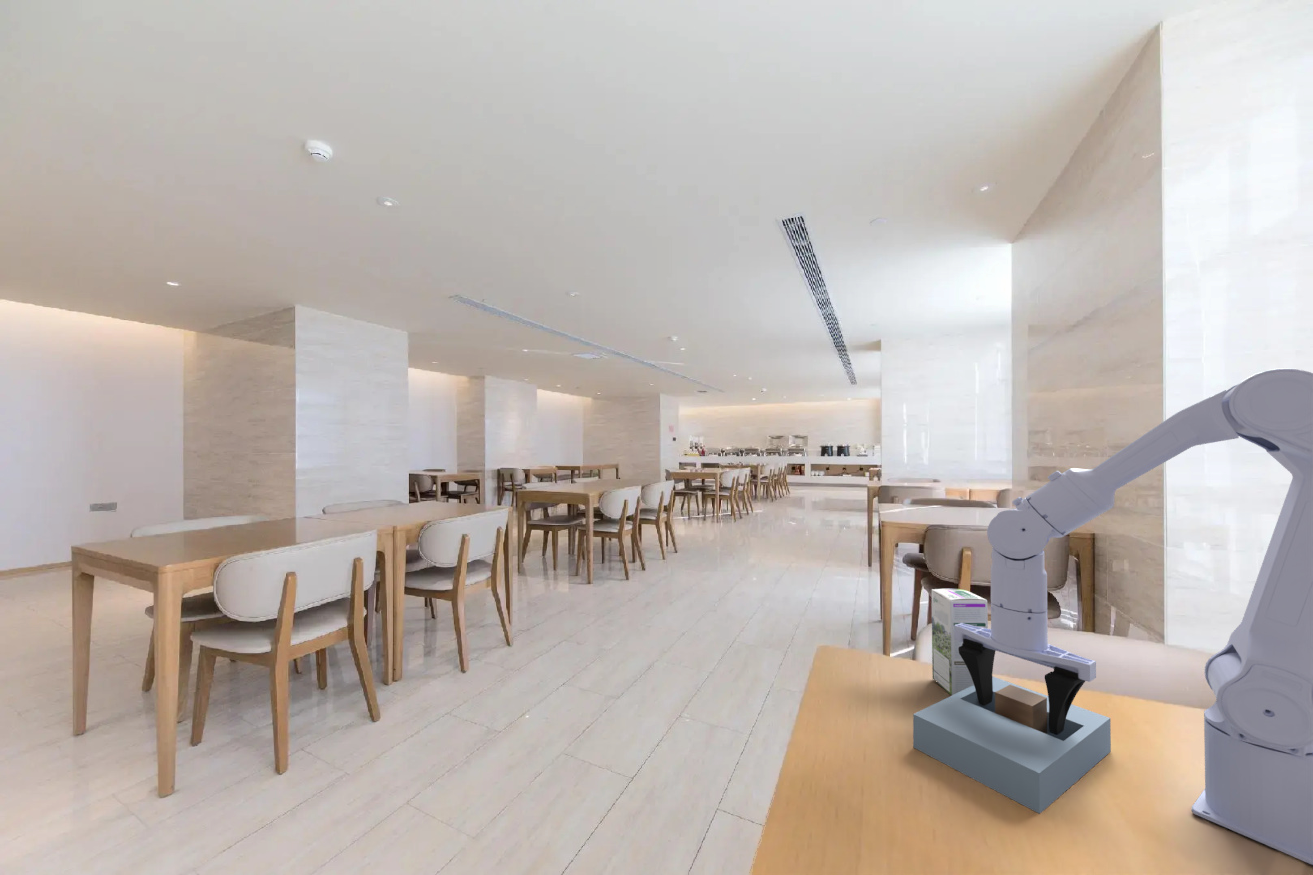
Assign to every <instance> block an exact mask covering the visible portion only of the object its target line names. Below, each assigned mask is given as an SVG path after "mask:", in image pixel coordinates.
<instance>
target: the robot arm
mask: <svg viewBox="0 0 1313 875" xmlns="http://www.w3.org/2000/svg"><path fill="white" fill-rule="evenodd" d="M1239 437H1240V438H1241V439H1243V440H1246V441H1247V442H1250V443H1252V444H1254V445H1256V446H1258V447H1260V448H1262V449H1264V450H1265V451H1266V452H1267V454H1269V455H1270V456H1271V457H1272V458H1273V459H1274V460H1276V461H1277V462H1278V463H1279V464H1280V465H1281V466H1283V468H1284V469H1286V471H1288V472H1289V473H1290V474H1291V476H1292V479H1291V481H1290V484H1289V487H1288V490H1287V493H1286V496H1285V498H1284V502H1283V504H1282V507H1281V508H1280V512H1279V516H1278V519H1277V520H1276V524H1275V527H1274V530H1273V532H1272V536H1271V538H1270V541H1269V543H1268V546H1267V548H1266V549H1267V550H1266V552H1265V554H1264V558H1263V560H1262V563H1261V565H1260V566H1261V567H1260V568H1259V572H1258V574H1257V577H1256V581H1255V583H1254V585H1253V588H1252V592H1251V594H1250V598H1249V600H1248V603H1247V605H1246V609H1245V611H1244V614H1243V617H1242V618H1241V619H1242V620H1241V622H1240V624H1239V625H1238V626H1237V627H1236V628H1235V629H1234V630H1233V632H1231V633H1230V636H1229V640H1228V641H1227V644H1226V645H1225V647H1223V649H1221V650H1220V651H1218V652H1217V653H1214V654H1213V655H1212V656H1210V657H1209V658H1208V660H1207V661H1206V662H1205V666H1204V669H1203V670H1204V678H1205V680H1206V682H1207V684H1208V686H1209V688H1210V689H1211V690H1212V691H1213V693H1214V694H1213V695H1214V696H1215V698H1216V700H1215V702H1214V703H1213V704H1212V705H1211V706H1210V707H1208V708H1206V709H1205V710H1204V711H1203V723H1204V724H1203V725H1204V726H1203V727H1204V729H1203V731H1204V734H1203V735H1204V736H1203V737H1204V742H1203V743H1204V789H1203V790H1202V792H1201V793H1200V794H1199V796H1198V798H1197V799H1196V801H1195V802H1194V803H1193V804H1192V806H1191V812H1192V813H1193V814H1194V815H1196V816H1197V817H1200V818H1202V819H1205V820H1207V821H1210V822H1212V823H1214V824H1217V825H1219V826H1221V827H1223V828H1225V829H1229V830H1230V831H1233V832H1234V833H1237V834H1239V835H1242V836H1245V837H1246V838H1249V839H1251V840H1253V841H1256V842H1258V843H1260V844H1263V845H1265V846H1267V847H1269V848H1272V849H1275V850H1277V851H1279V852H1281V853H1284V854H1286V855H1289V856H1291V857H1293V858H1296V859H1297V860H1300V861H1302V862H1305V863H1306V864H1309V865H1311V866H1313V372H1311V371H1307V370H1303V369H1299V368H1287V367H1286V368H1284V367H1283V368H1274V369H1268V370H1265V371H1260V372H1257V373H1254V374H1253V375H1251V376H1248V377H1247V378H1245V379H1243V380H1242V381H1241V382H1240V383H1237V384H1235V385H1233V386H1231V387H1230V388H1228V389H1224V390H1222V391H1220V392H1218V393H1215V394H1214V395H1211V396H1209V397H1208V398H1205V399H1203V400H1201V401H1199V402H1196V403H1194V404H1192V405H1190V406H1188V407H1186V408H1183V409H1181V410H1179V411H1178V412H1176V413H1174V414H1173V415H1171V416H1170V417H1168V418H1167V419H1165V420H1164V421H1163V422H1160V423H1159V424H1157V425H1156V426H1154V427H1153V428H1152V429H1150V430H1149V431H1147V432H1145V433H1144V434H1143V435H1141V436H1140V437H1139V438H1136V440H1133V442H1130V443H1129V444H1128V445H1127V446H1125V447H1123V448H1122V449H1120V450H1119V451H1117V452H1116V453H1114V454H1113V455H1112V456H1110V457H1109V458H1107V459H1106V460H1104V461H1103V462H1101V463H1100V464H1098V465H1097V466H1096V467H1094V468H1092V469H1091V468H1089V469H1086V468H1077V467H1072V468H1068V469H1066V470H1065V471H1063V472H1060V471H1059V470H1056V471H1054V472H1052V473H1051V474H1049V475H1047V479H1048V480H1049V481H1048V482H1047V483H1045V484H1044V485H1042V486H1040V487H1038V489H1036V490H1034V491H1033V492H1032V493H1030V494H1028V495H1027V496H1025V497H1024V498H1022V497H1021V496H1018V497H1017V498H1015V499H1013V500H1012V501H1011V502H1012V504H1013V505H1014V506H1015V508H1011V509H1007V510H1001V511H999V512H998V513H997V514H996V515H995V516H994V517H993V519H991V520H990V522H989V524H988V526H987V530H986V531H987V532H986V534H987V539H988V542H989V544H990V545H991V546H992V547H991V549H992V551H991V555H990V556H991V566H990V628H988V629H987V628H982V627H977V626H972V625H968V624H964V623H960V624H957V625H954V639H955V640H958V641H961V642H963V643H962V646H960V647H959V648H958V650H959V654H960V656H961V657H962V659H963V661H964V662H965V664H966V666H967V668H968V670H969V673H970V675H971V677H972V680H973V683H974V686H975V690H976V693H977V697H978V702H979V704H981V705H983V706H985V705H987V704H989V703H991V702H992V696H993V683H992V676H993V671H994V661H995V657H996V656H995V655H996V652H999V653H1002V654H1006V655H1009V656H1012V657H1014V658H1018V659H1022V660H1025V661H1028V662H1031V663H1033V664H1034V663H1035V664H1037V665H1040V666H1041V665H1042V666H1044V667H1047V668H1050V669H1053V671H1050V672H1048V673H1046V674H1044V681H1045V685H1046V691H1047V692H1046V693H1047V696H1048V699H1049V731H1050V733H1053V734H1055V735H1058V734H1059V733H1061V732H1062V731H1064V725H1065V720H1066V717H1067V714H1068V711H1069V708H1070V706H1071V704H1072V703H1073V701H1074V699H1075V697H1076V695H1078V693H1079V691H1080V690H1081V688H1082V687H1083V685H1084V684H1085V683H1086V682H1089V683H1090V682H1092V681H1094V680H1095V679H1096V678H1097V661H1096V660H1093V659H1090V658H1086V657H1083V656H1080V655H1077V654H1075V653H1073V652H1070V651H1068V650H1065V649H1063V648H1061V647H1057V646H1055V645H1053V644H1050V643H1048V642H1049V636H1048V629H1049V628H1048V626H1049V625H1048V623H1049V622H1048V621H1049V620H1048V618H1049V617H1048V573H1047V571H1046V569H1045V568H1046V567H1045V563H1046V562H1045V551H1044V549H1045V548H1046V546H1047V545H1048V543H1049V542H1050V539H1051V538H1058V539H1060V538H1064V537H1065V536H1067V535H1069V534H1070V533H1072V532H1074V531H1076V530H1077V529H1079V528H1081V527H1083V526H1084V525H1086V524H1087V523H1089V522H1090V521H1092V520H1094V519H1096V518H1097V517H1099V516H1101V515H1103V514H1105V513H1106V512H1109V511H1110V510H1111V509H1114V507H1115V499H1116V498H1115V496H1116V492H1117V490H1119V489H1120V488H1122V487H1124V486H1125V485H1127V484H1128V483H1131V482H1132V481H1135V480H1136V479H1138V478H1140V477H1141V476H1143V475H1145V474H1147V473H1148V472H1150V471H1151V470H1153V469H1156V468H1157V467H1159V466H1160V465H1163V464H1165V463H1167V461H1169V460H1171V459H1173V458H1175V457H1178V456H1179V455H1180V454H1182V453H1184V452H1185V451H1187V450H1188V449H1191V448H1193V447H1196V446H1201V445H1208V444H1212V443H1218V442H1223V441H1229V440H1235V439H1236V440H1237V439H1239ZM1072 705H1073V704H1072Z"/></svg>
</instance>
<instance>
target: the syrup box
mask: <svg viewBox="0 0 1313 875" xmlns="http://www.w3.org/2000/svg"><path fill="white" fill-rule="evenodd" d="M988 615H989V613H988V600H987V599H986V598H983V597H982V596H979V595H977V594H976V593H973V592H971V591H968V590H967V589H962V588H961V589H960V588H934V589H933V588H931V653H932V654H931V658H932V659H931V660H932V661H931V662H932V663H931V664H932V665H931V666H932V668H931V669H932V680H933V679H934V680H935V681H937V682H936V684H937V685H938V686H940V687H941V688H943V690H945V691H946V693H948V694H949V695H950V696H952V695H954V694H956V693H958V692H960V691H962V690H965V689H967V688H969V687H971V686H973V685H974V683H973V680H972V677H971V675H970V673H969V670H968V668H967V666H966V664H965V662H964V661H963V659H962V657H961V656H960V654H959V650H958V648H959V647H960V646H962V643H963V642H961V641H958V640H955V639H954V625H957V624H960V623H964V624H968V625H972V626H977V627H982V628H987V629H989V620H988V618H989V617H988ZM934 680H933V681H934ZM935 681H934V682H935Z"/></svg>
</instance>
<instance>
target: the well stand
mask: <svg viewBox="0 0 1313 875" xmlns="http://www.w3.org/2000/svg"><path fill="white" fill-rule="evenodd" d="M992 683H993V696H992V702H991V703H989V704H987V705H985V706H983V705H981V704H979V702H978V697H977V693H976V690H975V686H974V685H973V686H971V687H969V688H967V689H965V690H962V691H960V692H958V693H956V694H954V695H950V696H948V697H946V698H944V699H942V700H940V701H938V702H936V703H933V704H931V705H929V706H927V707H925V708H923V709H921V710H919V711H916V712H915V713H913V714H912V715H913V716H912V718H913V719H912V720H913V723H912V727H913V728H912V733H913V734H912V736H913V737H912V739H913V740H912V741H913V742H912V744H913V748H914V749H916V750H918V751H919V752H922V753H923V754H925V755H927V756H929V757H931V758H933V759H934V760H936V761H939V762H940V763H942V764H945V765H946V766H948V767H950V768H952V769H954V770H955V771H956V772H957V771H958V772H959V773H961V774H963V775H965V776H966V777H968V778H971V779H973V780H974V781H976V782H978V783H980V784H982V785H984V786H986V787H987V788H990V789H991V790H994V791H995V792H997V793H999V794H1001V795H1002V796H1005V797H1007V798H1009V799H1010V800H1012V801H1014V802H1016V803H1018V804H1021V805H1022V806H1024V807H1026V808H1028V809H1029V810H1031V811H1033V812H1036V813H1037V814H1041V813H1042V812H1044V811H1045V810H1046V809H1047V808H1048V807H1050V805H1052V804H1053V803H1054V802H1055V801H1056V800H1057V799H1058V798H1060V797H1061V796H1062V795H1063V794H1064V793H1065V792H1066V791H1068V789H1070V788H1071V787H1072V786H1073V785H1075V783H1077V782H1078V781H1079V780H1080V779H1081V778H1082V777H1084V776H1085V775H1086V774H1087V773H1088V772H1089V771H1090V770H1091V769H1093V768H1094V767H1095V766H1096V765H1097V764H1099V762H1100V761H1102V760H1103V759H1104V758H1105V757H1106V756H1107V755H1108V754H1110V753H1111V751H1112V748H1111V746H1112V744H1111V738H1112V737H1111V726H1112V725H1111V717H1108V716H1106V715H1103V714H1100V713H1097V712H1095V711H1092V710H1090V709H1086V708H1083V707H1080V706H1077V705H1075V704H1071V706H1070V708H1069V711H1068V714H1067V717H1066V720H1065V725H1064V731H1062V732H1061V733H1059V734H1058V735H1055V734H1053V733H1050V731H1049V699H1048V694H1043V693H1041V692H1038V691H1035V690H1032V689H1029V688H1027V687H1024V686H1020V685H1018V684H1016V683H1012V682H1009V681H1007V680H1004V679H1001V678H998V677H995V676H993V675H992ZM1008 685H1012V686H1015V687H1018V688H1021V689H1024V690H1026V691H1029V692H1032V693H1035V694H1038V695H1040V696H1043V697H1046V698H1047V734H1045V733H1043V732H1040V731H1038V730H1035V729H1033V728H1030V727H1028V726H1025V725H1023V724H1021V723H1018V722H1016V721H1013V720H1011V719H1008V718H1006V717H1003V716H1001V715H999V714H996V713H995V692H997V691H999V690H1001V689H1003V688H1004V687H1006V686H1008Z"/></svg>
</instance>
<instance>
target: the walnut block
mask: <svg viewBox="0 0 1313 875" xmlns="http://www.w3.org/2000/svg"><path fill="white" fill-rule="evenodd" d="M995 713H996V714H999V715H1001V716H1003V717H1006V718H1008V719H1011V720H1013V721H1016V722H1018V723H1021V724H1023V725H1025V726H1028V727H1030V728H1033V729H1035V730H1038V731H1040V732H1043V733H1045V734H1047V698H1046V697H1043V696H1040V695H1038V694H1035V693H1032V692H1029V691H1026V690H1024V689H1021V688H1018V687H1015V686H1012V685H1008V686H1006V687H1004V688H1003V689H1001V690H999V691H997V692H995Z"/></svg>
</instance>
